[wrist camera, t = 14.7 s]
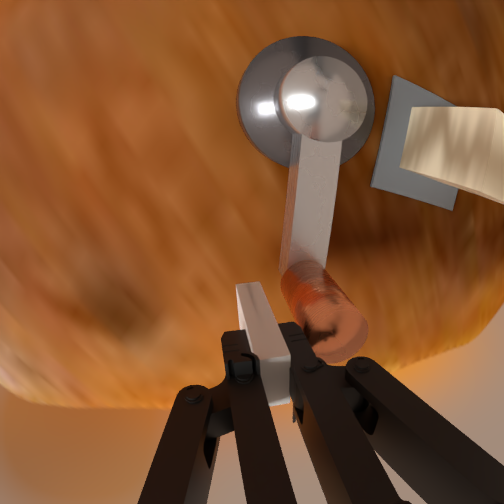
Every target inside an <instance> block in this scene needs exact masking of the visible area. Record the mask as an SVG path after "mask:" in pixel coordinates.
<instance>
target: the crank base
mask: <svg viewBox="0 0 504 504" xmlns="http://www.w3.org/2000/svg"><path fill="white" fill-rule="evenodd" d="M316 56H327V57H332V58H335V59H338V60H340V61H342V62H344V63H346V64H347V65H348V66H350V67H351V68H352V69H353V70H354V71H355V72H356V73H357V75H358V76H359V77H360V79H361V81H362V83H363V85H364V87H365V90H366V94H367V112H366V115H365V118H364V120H363V123H362V124H361V126H360V127H359V128H358V130H357V131H356V132H355V133H354V134H352V135H351V136H350V137H348V138H346V139H344V140H342V147H341V156H340V165H341V164H343V163H345V162H346V161H348V160H349V159H350V158H352V157H353V156H354V155H355V154H356V153H357V152H358V151H359V150H360V149H361V147H362V146H363V145H364V143H365V142H366V140H367V138H368V136H369V134H370V131H371V129H372V125H373V121H374V114H375V103H374V95H373V91H372V87H371V84H370V82H369V79H368V77H367V75H366V73H365V72H364V70H363V69H362V67H361V66H360V64H359V63H358V62H357V61H356V60H355V59H354V58H353V57H352V56H351V55H350V54H349V53H348V52H346V51H345V50H344V49H342V48H341V47H339V46H337V45H335V44H334V43H331V42H329V41H326V40H324V39H320V38H316V37H308V36H297V37H290V38H286V39H282V40H279V41H277V42H275V43H273V44H271V45H269V46H268V47H266V48H265V49H263V50H262V51H261V52H260V53H259V54H258V55H257V56H256V57H255V58H254V59H253V60H252V61H251V63H250V64H249V66H248V67H247V69H246V70H245V72H244V74H243V76H242V78H241V80H240V83H239V86H238V89H237V96H236V108H237V115H238V119H239V122H240V125H241V127H242V130H243V132H244V133H245V135H246V137H247V139H248V140H249V141H250V142H251V144H252V145H253V146H254V147H255V148H256V149H257V150H258V151H259V152H260V153H262V154H263V155H264V156H265V157H267V158H269V159H271V160H272V161H274V162H276V163H279V164H281V165H283V166H286V167H288V168H289V166H290V155H291V144H292V133H290V132H289V131H288V130H287V129H286V128H285V127H284V126H283V125H282V124H281V122H280V121H279V119H278V117H277V115H276V112H275V109H274V103H273V96H274V90H275V87H276V85H277V82H278V81H279V79H280V78H281V77H282V75H283V74H284V73H285V72H287V71H288V70H289V69H291V68H292V67H294V66H295V65H297V64H298V63H300V62H301V61H303V60H305V59H308V58H311V57H316Z"/></svg>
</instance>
